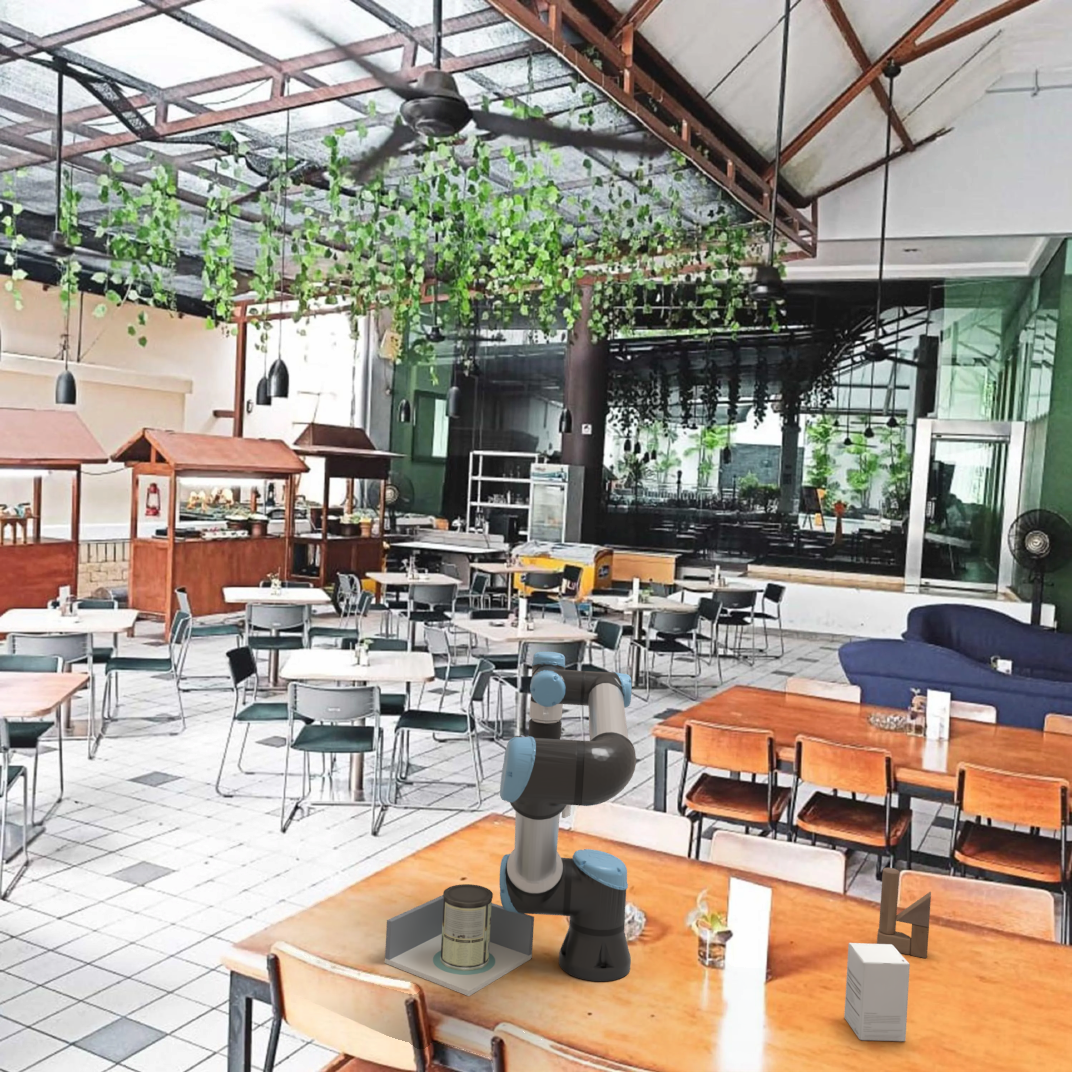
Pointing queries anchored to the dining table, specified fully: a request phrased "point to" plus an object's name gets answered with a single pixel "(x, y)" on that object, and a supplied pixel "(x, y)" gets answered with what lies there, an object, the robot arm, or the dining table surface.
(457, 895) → the coffee can
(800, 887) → the dining table surface
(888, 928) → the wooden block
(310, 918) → the dining table surface
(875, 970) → the supplement box
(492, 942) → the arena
